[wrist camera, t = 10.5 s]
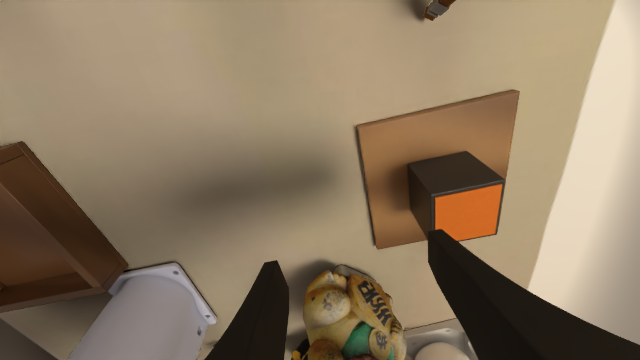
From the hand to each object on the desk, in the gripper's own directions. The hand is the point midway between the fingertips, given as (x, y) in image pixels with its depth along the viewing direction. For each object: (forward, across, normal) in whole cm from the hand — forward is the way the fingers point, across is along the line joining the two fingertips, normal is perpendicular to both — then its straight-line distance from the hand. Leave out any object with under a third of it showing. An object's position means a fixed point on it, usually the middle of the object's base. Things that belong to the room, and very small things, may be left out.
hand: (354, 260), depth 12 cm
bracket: (+7, -5, +22) cm, 24 cm away
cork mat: (+9, -8, +3) cm, 12 cm away
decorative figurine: (+10, +2, +14) cm, 17 cm away
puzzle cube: (+9, -8, +3) cm, 12 cm away
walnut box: (+9, +27, -1) cm, 29 cm away
